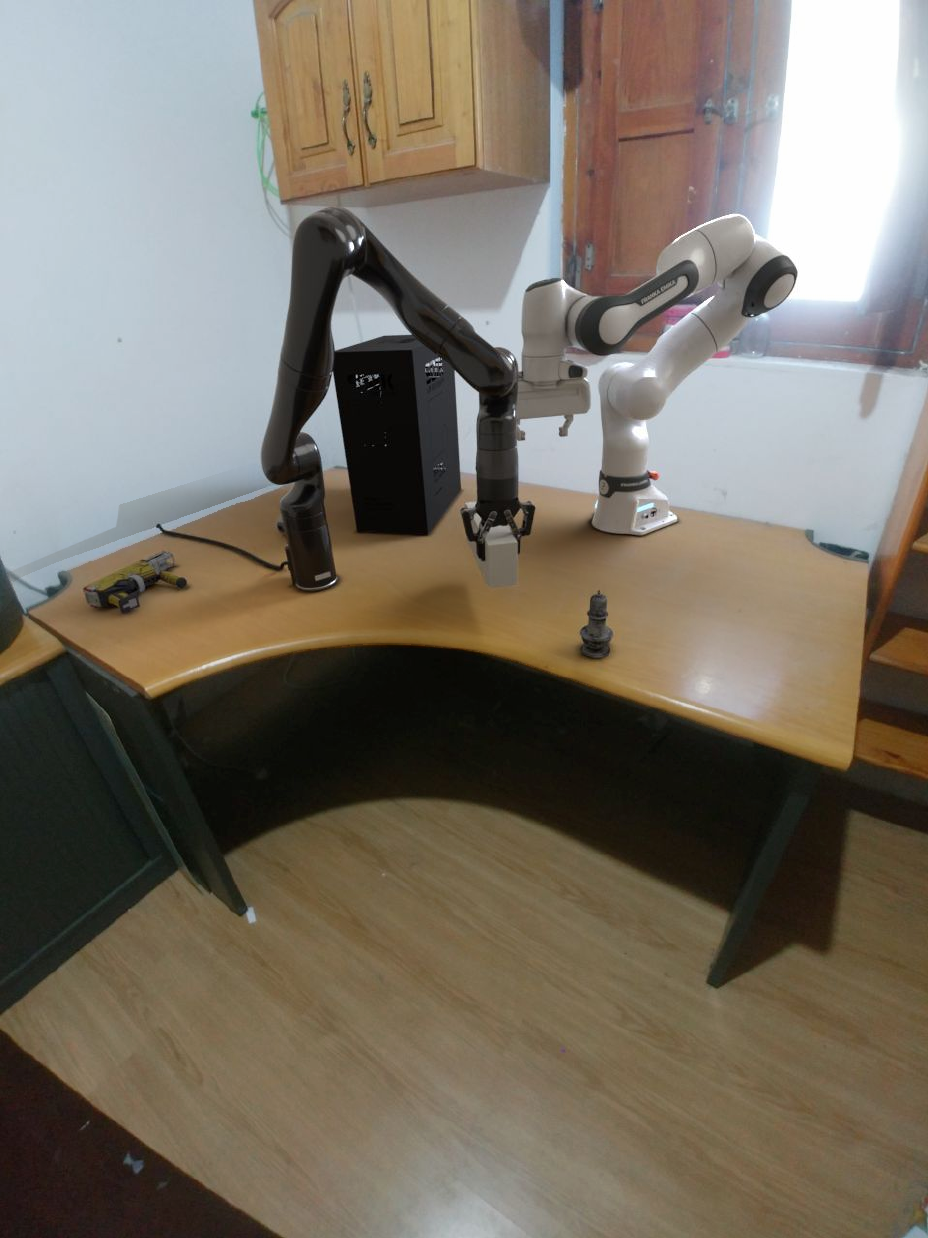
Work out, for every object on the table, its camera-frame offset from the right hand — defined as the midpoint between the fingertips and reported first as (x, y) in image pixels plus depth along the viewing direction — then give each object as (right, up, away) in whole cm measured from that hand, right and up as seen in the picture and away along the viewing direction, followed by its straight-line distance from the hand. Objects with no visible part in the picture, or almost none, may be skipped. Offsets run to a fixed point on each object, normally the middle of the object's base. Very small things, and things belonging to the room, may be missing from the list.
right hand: (542, 438), depth 131 cm
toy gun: (-89, -33, +9) cm, 95 cm away
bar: (-12, -27, -6) cm, 30 cm away
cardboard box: (-32, -7, +47) cm, 57 cm away
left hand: (-10, -27, -15) cm, 33 cm away
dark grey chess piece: (+7, -45, -22) cm, 51 cm away
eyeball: (-65, -16, +35) cm, 75 cm away
